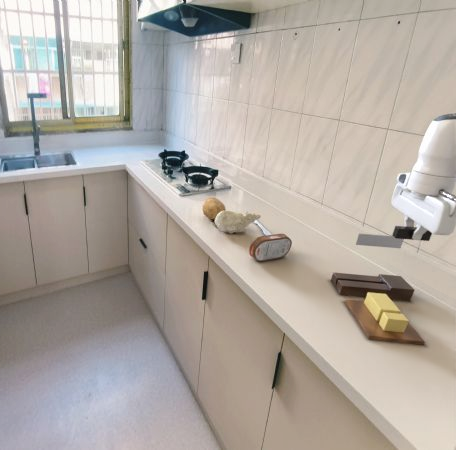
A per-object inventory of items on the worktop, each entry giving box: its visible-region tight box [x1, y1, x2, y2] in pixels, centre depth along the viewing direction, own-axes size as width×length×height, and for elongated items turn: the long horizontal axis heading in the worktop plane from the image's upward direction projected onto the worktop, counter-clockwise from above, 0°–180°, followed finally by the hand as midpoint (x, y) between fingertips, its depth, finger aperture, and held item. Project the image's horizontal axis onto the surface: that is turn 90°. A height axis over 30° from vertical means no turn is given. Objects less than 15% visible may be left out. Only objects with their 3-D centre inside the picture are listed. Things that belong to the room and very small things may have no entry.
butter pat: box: [379, 312, 410, 333], centre depth 79 cm, size 4×2×4 cm, turn 83°
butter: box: [364, 292, 401, 321], centre depth 85 cm, size 4×7×4 cm, turn 173°
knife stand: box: [330, 271, 415, 302], centre depth 95 cm, size 18×7×4 cm, turn 83°
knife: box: [355, 225, 433, 249], centre depth 87 cm, size 16×2×6 cm, turn 83°
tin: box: [248, 233, 293, 262], centre depth 109 cm, size 15×3×8 cm, turn 110°
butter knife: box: [247, 211, 273, 236], centre depth 137 cm, size 1×24×3 cm
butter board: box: [344, 299, 426, 346], centre depth 83 cm, size 12×14×1 cm
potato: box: [201, 196, 227, 221], centre depth 139 cm, size 10×14×8 cm
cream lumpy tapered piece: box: [214, 210, 262, 235], centre depth 129 cm, size 15×7×15 cm
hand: (411, 236), depth 86 cm, fingers closed on knife, 2 cm apart
